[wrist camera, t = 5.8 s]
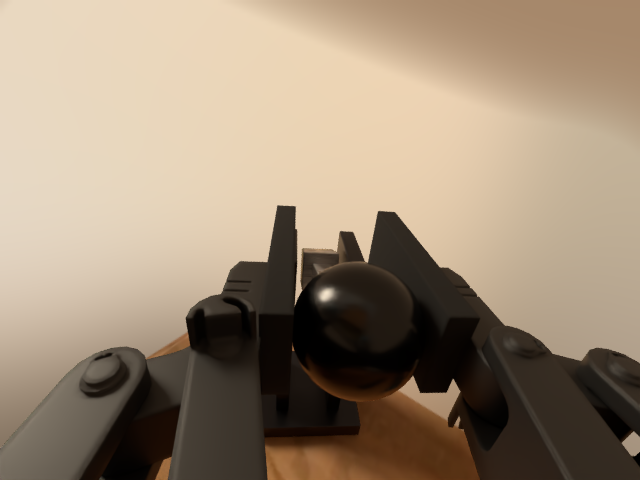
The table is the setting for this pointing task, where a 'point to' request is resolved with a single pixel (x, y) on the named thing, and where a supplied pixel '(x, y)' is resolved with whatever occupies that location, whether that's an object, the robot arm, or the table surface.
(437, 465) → the table surface
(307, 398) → the switch
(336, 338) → the lever
